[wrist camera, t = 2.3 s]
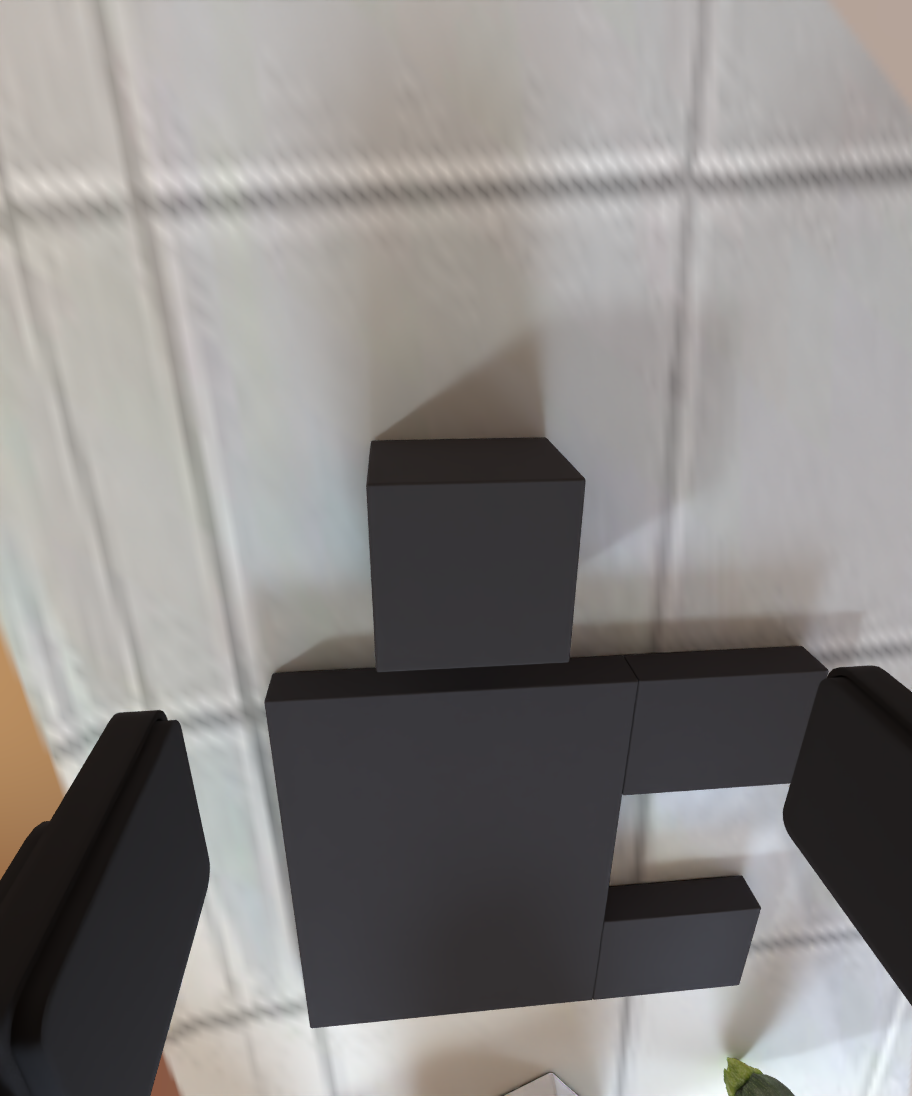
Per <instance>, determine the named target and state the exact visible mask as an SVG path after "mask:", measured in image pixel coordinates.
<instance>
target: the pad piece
mask: <svg viewBox="0 0 912 1096" xmlns="http://www.w3.org/2000/svg"><path fill="white" fill-rule="evenodd" d="M366 489H367V508H368V527H369V545H370V564H371V583H372V601H373V620H374V638H375V657H376V670H377V672H389V671H408V670H428V669H447V668H466V667H486V666H505V665H524V664H544V663H563V662H569V658H570V647H571V636H572V625H573V614H574V602H575V591H576V580H577V569H578V558H579V547H580V536H581V525H582V514H583V503H584V492H585V478H584V477H583V476H582V475H581V474H580V473H579V472H578V471H577V470H576V469H575V468H574V467H573V466H572V464H571V463H570V462H569V461H568V460H567V459H566V458H565V457H564V456H563V455H562V454H561V453H560V452H559V451H558V450H557V449H556V448H555V447H554V446H553V444H552V443H551V442H550V441H549V440H548V439H547V438H493V439H440V440H386V441H371V446H370V455H369V465H368V475H367V484H366Z"/></svg>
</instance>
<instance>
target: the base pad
mask: <svg viewBox="0 0 912 1096" xmlns="http://www.w3.org/2000/svg"><path fill="white" fill-rule="evenodd" d="M827 675H828V669H827V668H826V667H825V666H824V665H822V664H821V663H820V662H819V661H818V660H817V659H816V658H815V657H814V656H813V655H811V654H810V653H809V652H808V651H807V650H806V649H805V648H804V647H802V646H793V647H774V648H754V649H735V650H715V651H695V652H676V653H656V654H637V655H624V657H623V656H621V655H620V656H600V657H581V658H569V662H563V663H544V664H524V665H505V666H486V667H466V668H447V669H428V670H408V671H389V672H377V670H376V668H365V669H346V670H326V671H307V672H287V673H273V674H272V677H271V681H270V684H269V688H268V691H267V695H266V698H265V709H266V716H267V723H268V730H269V737H270V744H271V751H272V759H273V766H274V773H275V780H276V787H277V794H278V801H279V808H280V815H281V823H282V830H283V837H284V844H285V851H286V858H287V865H288V872H289V879H290V886H291V894H292V901H293V908H294V915H295V922H296V929H297V936H298V943H299V950H300V958H301V965H302V972H303V979H304V986H305V993H306V1000H307V1007H308V1014H309V1021H310V1027H311V1028H319V1027H329V1026H339V1025H349V1024H358V1023H368V1022H378V1021H388V1020H398V1019H408V1018H418V1017H427V1016H437V1015H447V1014H457V1013H467V1012H477V1011H486V1010H496V1009H506V1008H516V1007H526V1006H536V1005H546V1004H555V1003H565V1002H575V1001H585V1000H592V999H594V1000H596V999H606V998H616V997H625V996H635V995H645V994H655V993H665V992H675V991H685V990H694V989H704V988H714V987H724V986H734V985H739V983H740V980H741V976H742V973H743V969H744V966H745V962H746V959H747V955H748V952H749V948H750V945H751V941H752V938H753V934H754V931H755V927H756V924H757V920H758V917H759V913H760V910H761V907H760V905H759V903H758V902H757V900H756V898H755V897H754V895H753V893H752V892H751V890H750V888H749V886H748V885H747V883H746V881H745V880H744V878H743V876H733V877H721V878H709V879H698V880H686V881H674V882H662V883H651V884H639V885H627V886H615V887H609V881H610V874H611V867H612V860H613V853H614V846H615V839H616V832H617V825H618V818H619V811H620V804H621V797H622V794H623V795H634V794H648V793H662V792H676V791H690V790H704V789H718V788H732V787H746V786H759V785H773V784H787V783H791V780H792V777H793V773H794V770H795V766H796V763H797V759H798V756H799V752H800V749H801V745H802V742H803V738H804V735H805V731H806V728H807V724H808V721H809V718H810V714H811V711H812V707H813V704H814V700H815V697H816V693H817V690H818V686H819V684H820V682H821V681H822V680H823V679H826V678H827Z"/></svg>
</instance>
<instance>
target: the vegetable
mask: <svg viewBox="0 0 912 1096" xmlns="http://www.w3.org/2000/svg"><path fill="white" fill-rule="evenodd" d="M727 1061H728V1069H727V1070H726V1069H725V1068H724V1082H725V1084H726V1089H727V1092H728V1095H729V1096H795V1095H794V1094H793V1093H792V1092H791V1091H790V1090H789V1089H788V1088H787V1087H786V1086H785V1085H784V1084H782V1083H781V1082H780V1081H778V1080H777V1079H775V1078H773V1077H771V1076H768V1075H764V1074H763V1073H762V1072H761V1071H760V1070H759V1069H757V1068H753V1067H751V1066H748V1065H746V1064H745V1063H743V1062H741V1061H739V1060H737V1059H736V1058H728V1057H727Z"/></svg>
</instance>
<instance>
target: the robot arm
mask: <svg viewBox="0 0 912 1096" xmlns="http://www.w3.org/2000/svg"><path fill="white" fill-rule="evenodd" d="M783 821H784V825H785V828H786V830H787V832H788V834H789V836H790V837H791V839H792V840H793V841H794V843H795V844H796V846H797V847H798V848H799V850H800V851H801V853H802V854H803V855H804V857H805V858H806V860H807V861H808V862H809V864H810V865H811V866H812V868H813V869H814V871H815V872H816V873H817V875H818V876H819V878H820V879H821V880H822V882H823V883H824V885H825V886H826V887H827V889H828V890H829V891H830V893H831V894H832V896H833V897H834V898H835V900H836V901H837V903H838V904H839V905H840V907H841V908H842V910H843V911H844V912H845V914H846V915H847V916H848V918H849V919H850V921H851V922H852V923H853V925H854V926H855V928H856V929H857V930H858V932H859V933H860V934H861V936H862V937H863V939H864V940H865V941H866V943H867V944H868V946H869V947H870V948H871V950H872V951H873V953H874V954H875V955H876V957H877V958H878V959H879V961H880V962H881V964H882V965H883V966H884V968H885V969H886V971H887V972H888V973H889V975H890V976H891V978H892V979H893V980H894V982H895V983H896V984H897V986H898V987H899V989H900V990H901V991H902V993H903V994H904V996H905V997H906V998H907V1000H908V1001H909V1003H910V1004H911V1005H912V692H911V691H910V690H909V689H907V688H906V687H905V686H904V685H902V684H901V683H900V682H899V681H897V680H896V679H895V678H894V677H892V676H891V675H890V674H889V673H887V672H886V671H885V670H883V669H881V668H880V667H877V666H872V665H871V666H855V667H839V668H836V669H833V670H832V671H831V672H830V673H829V674H828V676H827V678H826V679H823V680H822V681H821V682H820V684H819V686H818V690H817V693H816V697H815V700H814V704H813V707H812V711H811V714H810V718H809V721H808V724H807V728H806V731H805V735H804V738H803V742H802V745H801V749H800V752H799V756H798V759H797V763H796V766H795V770H794V773H793V777H792V780H791V784H790V787H789V791H788V794H787V798H786V801H785V805H784V808H783ZM209 874H210V862H209V856H208V851H207V846H206V842H205V837H204V832H203V828H202V823H201V818H200V813H199V809H198V804H197V799H196V795H195V790H194V785H193V780H192V776H191V771H190V766H189V762H188V757H187V752H186V747H185V743H184V738H183V733H182V729H181V725H180V723H179V722H178V721H177V720H169V721H168V720H167V717H166V715H165V713H164V712H163V711H161V710H154V711H138V712H123V713H117V714H115V715H114V716H113V717H112V718H111V720H110V721H109V723H108V724H107V726H106V728H105V729H104V731H103V733H102V735H101V736H100V738H99V740H98V741H97V743H96V745H95V746H94V748H93V750H92V751H91V753H90V755H89V756H88V758H87V760H86V761H85V763H84V765H83V767H82V768H81V770H80V772H79V773H78V775H77V777H76V778H75V780H74V782H73V783H72V785H71V787H70V788H69V790H68V792H67V793H66V795H65V797H64V799H63V800H62V802H61V804H60V806H59V807H58V809H57V810H56V812H55V814H54V815H53V817H52V819H51V820H50V821H46V822H42V823H41V824H40V825H38V826H37V827H35V828H34V829H33V831H32V832H31V833H30V834H29V836H28V837H27V838H26V840H25V841H24V843H23V844H22V846H21V848H20V849H19V851H18V853H17V854H16V856H15V857H14V859H13V861H12V862H11V864H10V866H9V867H8V869H7V870H6V872H5V874H4V875H3V877H2V879H1V880H0V1096H150V1095H151V1091H152V1087H153V1084H154V1080H155V1076H156V1073H157V1069H158V1066H159V1062H160V1058H161V1055H162V1051H163V1048H164V1044H165V1040H166V1037H167V1033H168V1030H169V1026H170V1022H171V1019H172V1015H173V1012H174V1008H175V1004H176V1001H177V997H178V993H179V990H180V986H181V983H182V979H183V975H184V972H185V968H186V965H187V961H188V957H189V954H190V950H191V946H192V943H193V939H194V936H195V932H196V928H197V925H198V921H199V917H200V914H201V910H202V907H203V903H204V899H205V896H206V892H207V888H208V883H209Z"/></svg>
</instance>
